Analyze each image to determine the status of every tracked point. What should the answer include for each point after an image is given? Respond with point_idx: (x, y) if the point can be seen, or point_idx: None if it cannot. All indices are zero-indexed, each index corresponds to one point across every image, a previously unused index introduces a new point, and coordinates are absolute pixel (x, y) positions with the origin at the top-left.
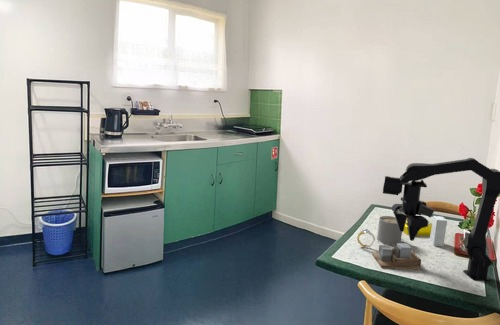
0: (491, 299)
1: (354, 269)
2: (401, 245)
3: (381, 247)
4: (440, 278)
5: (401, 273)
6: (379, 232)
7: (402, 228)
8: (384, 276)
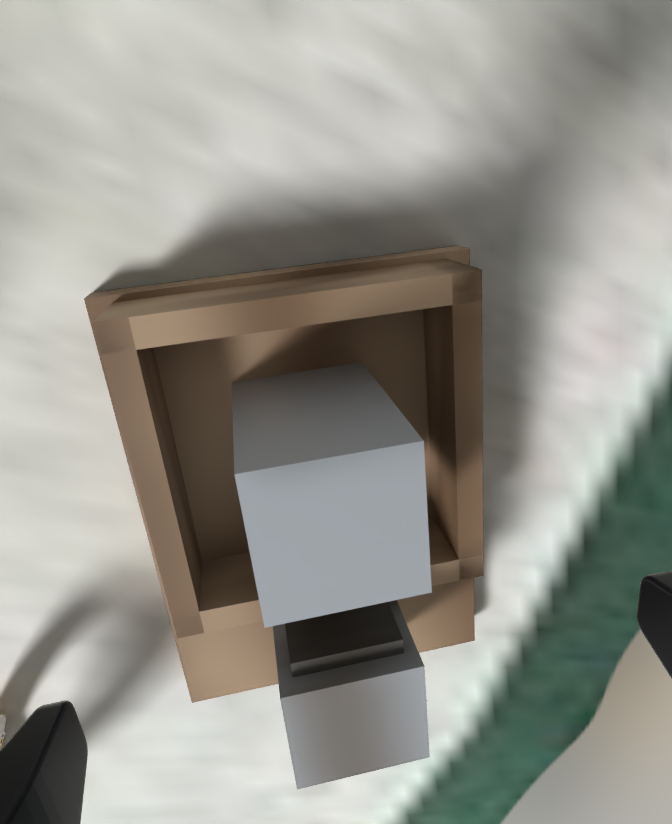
0: None
1: (508, 786)
2: (350, 577)
3: (379, 767)
4: (652, 85)
5: (554, 477)
6: None
7: (55, 801)
8: (606, 613)
